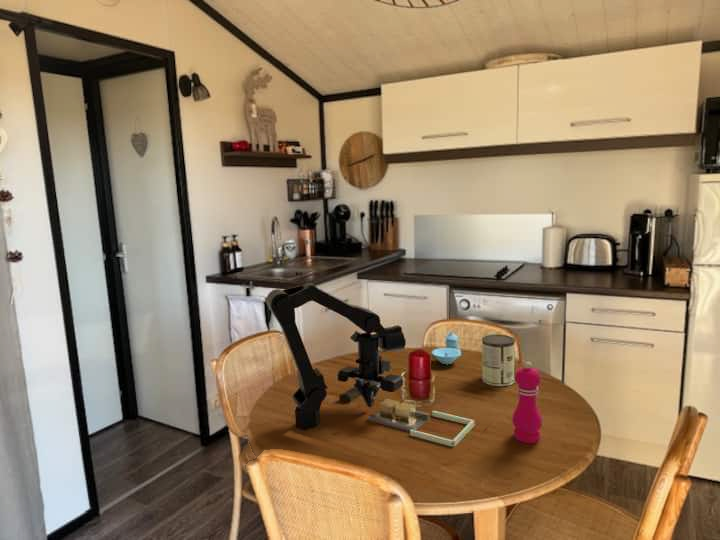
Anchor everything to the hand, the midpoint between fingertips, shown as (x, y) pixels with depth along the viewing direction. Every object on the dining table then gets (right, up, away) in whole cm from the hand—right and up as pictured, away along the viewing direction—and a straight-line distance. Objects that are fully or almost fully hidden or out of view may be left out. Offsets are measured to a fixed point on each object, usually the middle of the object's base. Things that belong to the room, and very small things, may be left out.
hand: (370, 407), depth 146 cm
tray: (+19, -4, -12) cm, 23 cm away
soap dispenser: (+29, +5, +43) cm, 52 cm away
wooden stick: (-3, -1, +16) cm, 16 cm away
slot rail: (+8, -3, -5) cm, 10 cm away
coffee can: (+42, +3, +22) cm, 48 cm away
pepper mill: (+39, -4, -15) cm, 42 cm away
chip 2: (+9, -2, -6) cm, 11 cm away
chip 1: (+5, -2, -3) cm, 6 cm away
